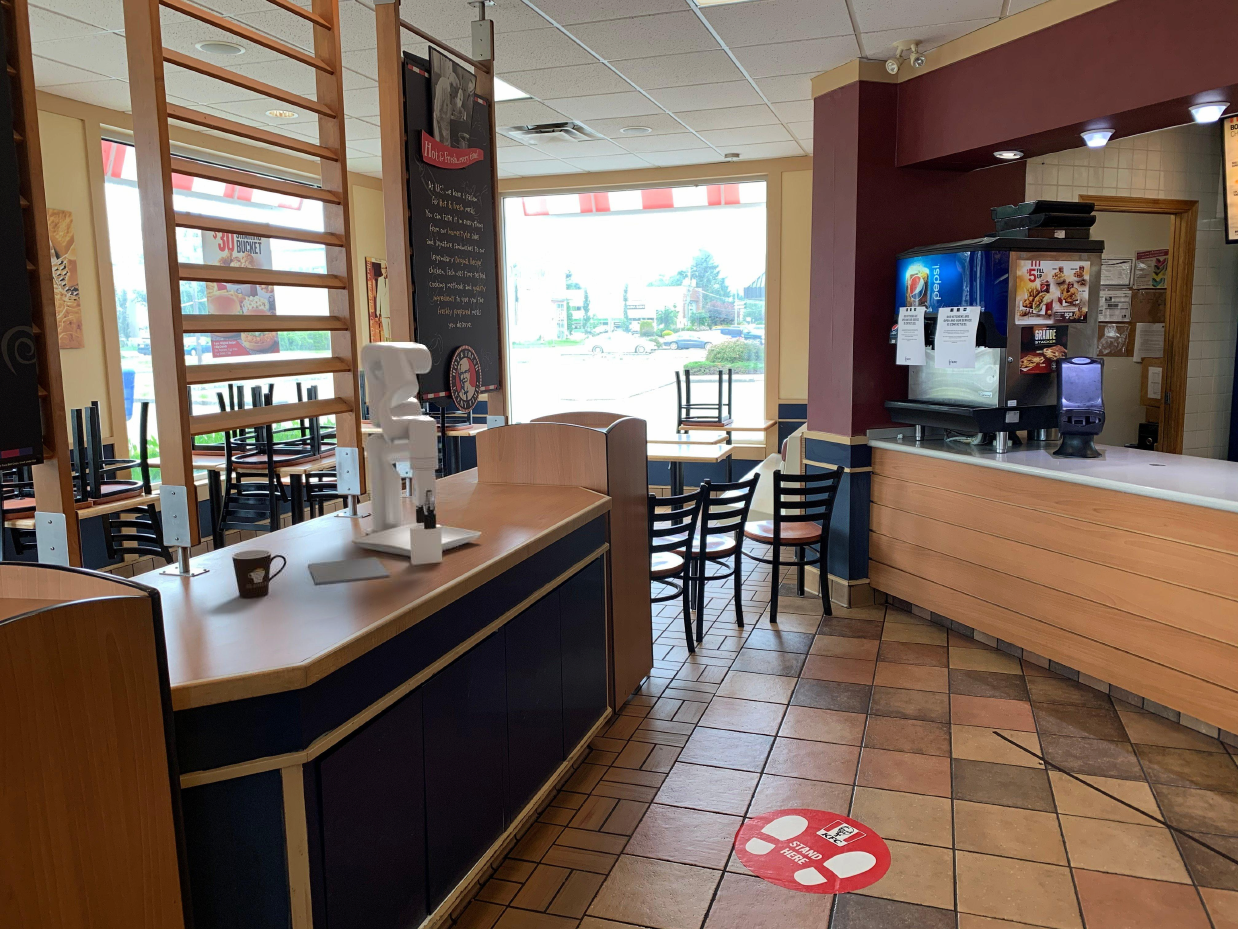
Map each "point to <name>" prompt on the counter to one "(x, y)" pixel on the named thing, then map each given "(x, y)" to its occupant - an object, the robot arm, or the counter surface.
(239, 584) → the coffee mug
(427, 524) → the robot arm
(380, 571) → the mat
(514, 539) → the counter surface
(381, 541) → the square plate
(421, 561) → the tile
